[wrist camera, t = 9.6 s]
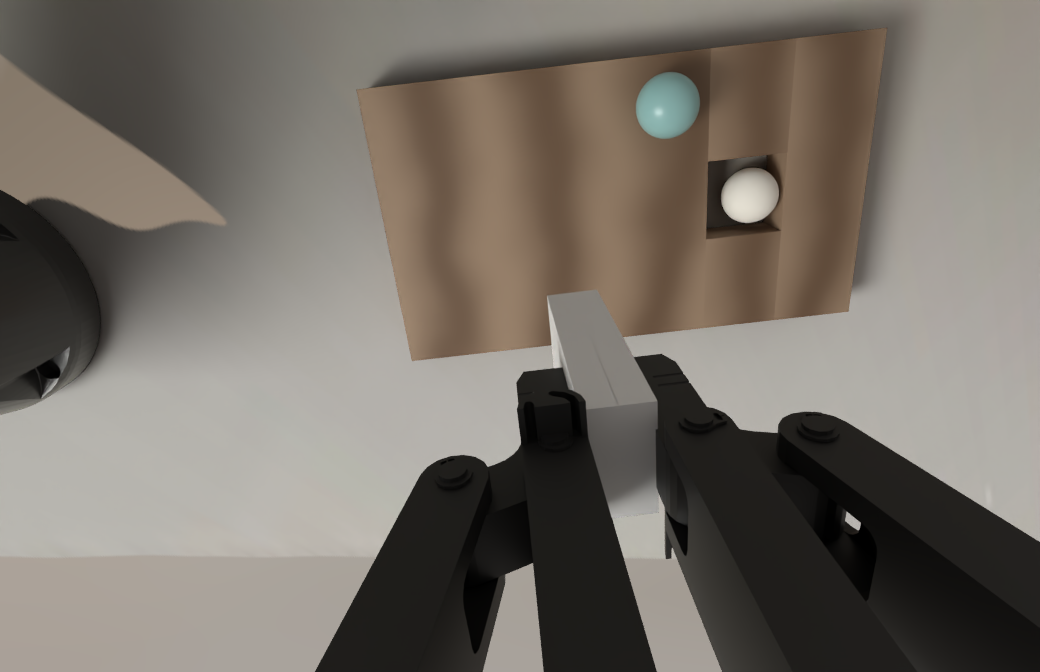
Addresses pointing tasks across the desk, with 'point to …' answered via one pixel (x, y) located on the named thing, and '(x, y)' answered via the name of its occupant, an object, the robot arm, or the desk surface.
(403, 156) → the board
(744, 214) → the ball
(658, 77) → the teal ball
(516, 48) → the desk surface
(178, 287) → the desk surface
